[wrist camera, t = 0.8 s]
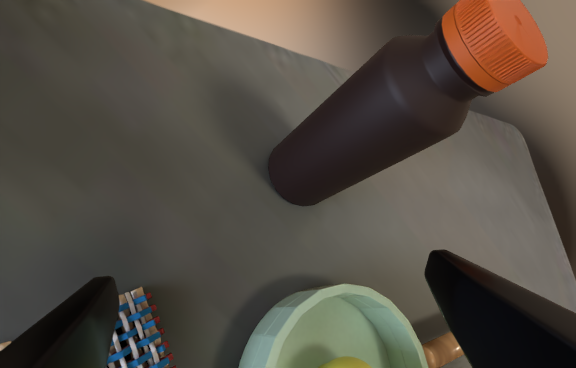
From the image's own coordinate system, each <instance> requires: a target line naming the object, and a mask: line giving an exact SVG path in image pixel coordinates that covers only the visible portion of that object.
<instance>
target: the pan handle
mask: <svg viewBox="0 0 576 368" xmlns="http://www.w3.org/2000/svg"><path fill="white" fill-rule="evenodd" d="M422 347H423V350H424V354H425V357H426V361H427V364H428V368H440V367H441V366H443V365H445V364H447V363H449V362H451V361H452V360H454V359H456V358H458V357H460V356H462V355H464V353H463V351H462V349H461V348H460V346H459V344H458V343H457V341H456V339H455V337H454V336H453V334H452V332H449V333H446V334H444V335H442V336H440V337H438V338H436V339H433V340H431V341H429V342H427V343H425V344H423V345H422Z"/></svg>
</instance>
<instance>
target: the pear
mask: <svg viewBox="0 0 576 368" xmlns="http://www.w3.org/2000/svg"><path fill="white" fill-rule="evenodd" d="M318 368H372V367H371V366H370V365H369V364H367V363H366V362H364V361H363V360H361V359H358V358H355V357H350V356H343V357H338V358H335V359H333V360H331V361H330V362H328V363H325V364H322V365H321V366H319V367H318Z"/></svg>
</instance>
